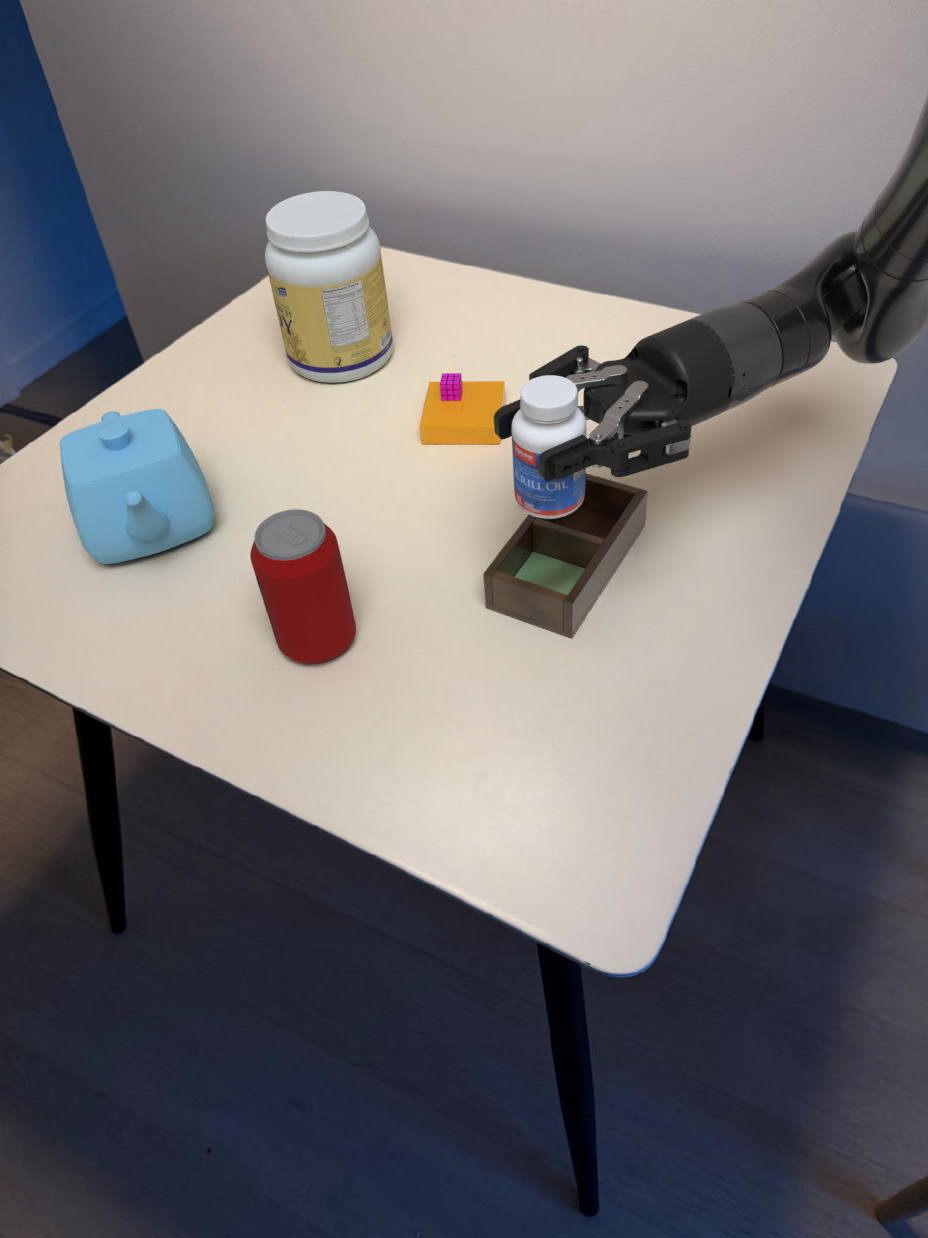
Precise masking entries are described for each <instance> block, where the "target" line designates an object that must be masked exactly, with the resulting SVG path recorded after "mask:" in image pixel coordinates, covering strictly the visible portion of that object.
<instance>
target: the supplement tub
mask: <svg viewBox="0 0 928 1238" xmlns="http://www.w3.org/2000/svg"><path fill="white" fill-rule="evenodd" d="M265 226H266V237H267V239H268V242H267V244H266V247H265V252H264V260H265V267H266V270H267V275H268V279H269V282H270V283H269V284H270V287H271V293H272V297H273V302H274V306H275V311H276V314H277V319H278V324H279V328H280V333H281V338H282V342H283V346H284V350H285V355H286V356H285V357H286V359H287V361H288V363H289V365H290V366H291V368H292V369H293V370H294V371H295V372H296V373H297V374H299V375H300V376H302V377H303V378H305V379H307V380H310V381H314V382H319V383H328V384H329V383H330V384H331V383H333V384H334V383H336V384H337V383H346V382H347V383H348V382H352V381H356V380H360V379H363V378H365V377H368V376H369V375H371V374H374V373H375V372H377V371H378V370H379V369H381V368H382V367H383V366H384V365H385V364H386V363H387V362H388V361H389V359H390V358H391V355H392V353H393V349H394V337H393V332H392V325H391V317H390V316H391V315H390V310H389V303H388V294H387V288H386V280H385V272H384V271H385V270H384V265H383V258H382V257H383V256H382V247H381V244H380V239H379V238H378V235H377V234H376V232H375V231H374V229H373V228H372V227H371V226H370V219H369V216H368V213H367V208H366V205H365V203H364V201H363V200H362V199H361V198H359V197H357V196H356V195H354V194H351V193H348V192H344V191H335V190H320V191H310V192H305V193H300V194H296V195H294V196H291V197H288V198H286V199H284V200H282V201H280V202H278V203H277V204H275V205H274V206H273V207H271V209H270V210H268V212H267V213H266V216H265Z"/></svg>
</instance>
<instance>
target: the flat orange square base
mask: <svg viewBox="0 0 928 1238" xmlns="http://www.w3.org/2000/svg"><path fill="white" fill-rule="evenodd" d="M506 399H507V398H506V382H505V380H491V381H490V380H484V381H483V380H477V381H476V380H475V381H474V380H473V381H471V380H470V381H469V380H468V381H467V380H466V381H463V379H462V373H460V372H454V373H453V372H451V373H448V372H447V373H446V372H445V373H443V372H442V373H441V377H440V381H429V382H428V387H427V390H426V396H425V400H424V405H423V410H422V414H421V418H420V423H419V432H420V440H421V444H422V445H500V444H501V440H502V439H501V438H500V437H498V436H497V435H496V434H495V431H494V414H495V413H496V412H497V410H498V409H499V408H501V407H502V406H505V405H506Z"/></svg>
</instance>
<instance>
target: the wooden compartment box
mask: <svg viewBox="0 0 928 1238" xmlns="http://www.w3.org/2000/svg"><path fill="white" fill-rule="evenodd" d="M648 492H649V491H648V490H647V489H643V488H639V487H636V486H631V485H628V484H624V483H622V482H617V481H614V480H611V479H607V478H604V477H600V476H598V475H597V476H596V475H594V474H589V473H587V472H586V475H585V496H584V500H583V502H582V504H581V505H580V506H579V507H578V508H577V509H576V510H575V511H574V512H572V513H570V514H568V515H566V516H563V517H560V518H555V519H543V518H538V517H534V516H532V515H529V514H527V516H526V517H525V519H524V520H523V521H522V522H521V524H519V526H518V527H517V529H516V530H515V531H514V533H513V534H512V535H511V537H510V538H509V539H508V540H507V542H506V543H505V544H504V546H503V547H502V548H501V549H500V551H499V552H498V554H497V555H496V556H495V558H493V559H492V562H491V563H490V564H489V565H488V566H487V568H486V569H485V571H484V572H483V573H482V575H483V591H484V600H485V602H484V603H485V604H484V605H485V608H486V609H487V610H489V611H493V612H496V613H499V614H501V615H504V616H508V617H510V618H513V619H515V620H519V621H521V622H523V623H527V624H529V625H532V626H535V627H538V628H541V629H544V630H546V631H550V632H551V633H552V632H553V633H554V634H558V635H561V636H563V637H566V638H569V639H573V638H574V637H575V635H576V633H577V632H578V630H579V629H580V628H581V625H583V623H584V621H585V619H586V618H587V616H588V615H589V613H590V611H591V610H592V608H593V607H594V606H595V604H596V602H597V601H598V599H599V597H600V596H601V595H602V593H603V592H604V590H605V589H606V587H607V585H608V584H609V583H610V581H611V579H612V578H613V576H614V575H615V573H616V571H617V570H618V569H619V567H620V565H621V564H622V562H623V560H624V559H625V557H626V556H627V554H628V553H629V551H630V550H631V548H632V547H633V545H634V544H635V542H636V540H638V537H639V536H640V534H641V533H642V532H643V529H644V528H645V526H646V518H647V505H648V494H649V493H648Z"/></svg>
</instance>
